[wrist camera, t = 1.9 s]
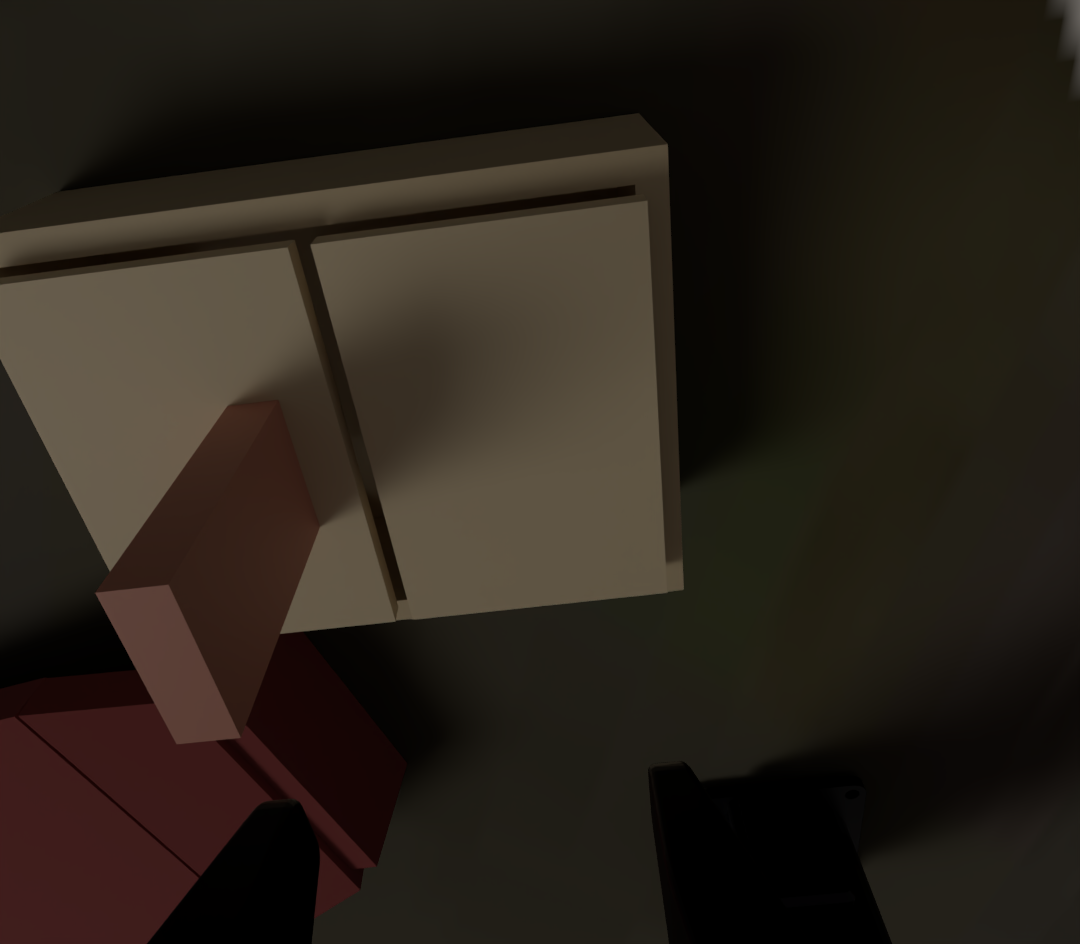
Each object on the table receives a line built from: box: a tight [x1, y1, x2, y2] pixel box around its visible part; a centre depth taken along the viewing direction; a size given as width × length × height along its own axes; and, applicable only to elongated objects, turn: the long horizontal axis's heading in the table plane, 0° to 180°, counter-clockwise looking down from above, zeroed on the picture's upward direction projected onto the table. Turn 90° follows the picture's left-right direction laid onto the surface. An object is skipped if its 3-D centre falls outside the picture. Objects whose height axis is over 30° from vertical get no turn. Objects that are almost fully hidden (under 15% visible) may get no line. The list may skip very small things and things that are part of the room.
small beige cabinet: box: [0, 113, 684, 620], centre depth 18 cm, size 10×13×4 cm
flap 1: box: [0, 240, 398, 744], centre depth 14 cm, size 9×6×6 cm
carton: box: [0, 632, 407, 944], centre depth 28 cm, size 12×5×25 cm
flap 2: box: [310, 194, 667, 620], centre depth 16 cm, size 9×6×1 cm
